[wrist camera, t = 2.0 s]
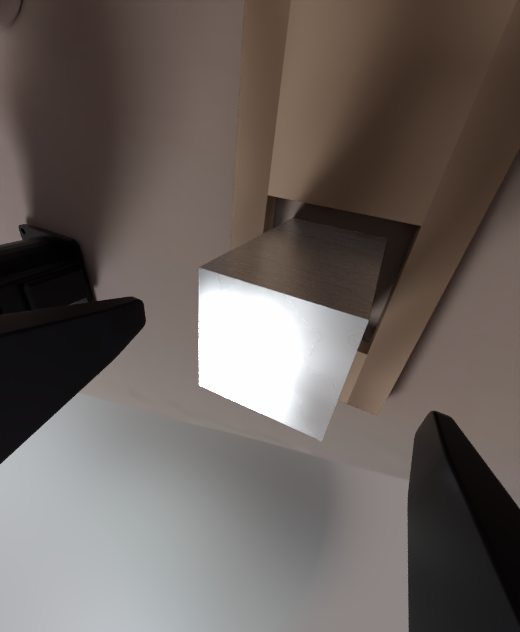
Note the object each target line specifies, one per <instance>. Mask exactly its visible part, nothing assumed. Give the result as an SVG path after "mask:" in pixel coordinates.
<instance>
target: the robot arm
mask: <svg viewBox="0 0 520 632" xmlns="http://www.w3.org/2000/svg"><path fill="white" fill-rule="evenodd" d="M19 231H20V234H21V237H22V239H23V240H21V241H16V242H11V243H7V244H2V245H0V464H1V463H2V462H3V461H4V460H5V459H6V458H8V456H9V455H11V454H12V453H13V452H14V451H15V450H16V449H17V448H18V447H19V446H21V445H22V444H23V443H24V442H25V441H26V440H27V439H28V438H29V437H30V436H31V435H32V434H34V433H35V432H36V431H37V430H38V429H39V428H40V427H41V426H42V425H43V424H44V423H46V422H47V421H48V420H49V419H50V418H51V417H52V416H53V415H54V414H55V413H56V412H58V411H59V410H60V409H61V408H62V407H63V406H64V405H65V404H66V403H67V402H68V401H70V399H72V398H73V397H74V396H75V395H76V394H77V393H78V392H79V391H80V390H82V389H83V388H84V387H85V386H86V385H87V384H88V383H89V382H90V381H91V380H92V379H93V378H95V377H96V376H97V375H98V374H99V373H100V372H101V371H102V370H103V369H104V368H105V367H107V366H108V365H109V364H110V363H111V362H112V361H113V360H114V359H115V358H116V357H117V356H118V355H119V354H120V353H121V351H122V350H123V349H124V348H125V347H126V346H127V345H128V344H129V343H130V341H131V340H132V339H133V338H134V337H135V336H136V335H137V334H138V333H139V332H140V330H141V329H142V328H143V327H144V325H145V322H146V318H145V310H144V304H143V302H142V301H141V300H140V299H137V298H135V297H123V298H116V299H109V300H102V301H95V302H92V297H91V293H90V289H89V285H88V281H87V277H86V273H85V269H84V265H83V261H82V257H81V252H80V248H79V245H78V243H77V242H76V241H75V240H73V239H71V238H67V237H64V236H61V235H58V234H55V233H52V232H49V231H46V230H43V229H40V228H37V227H34V226H31V225H28V224H22V225H19ZM408 601H409V602H408V604H409V605H408V606H409V632H520V508H519V507H518V506H517V504H516V503H515V502H514V500H513V499H512V498H511V496H510V495H509V494H508V492H507V491H506V490H505V488H504V487H503V486H502V484H501V483H500V482H499V480H498V479H497V478H496V476H495V475H494V473H493V472H492V471H491V469H490V468H489V467H488V465H487V464H486V463H485V461H484V460H483V459H482V457H481V456H480V455H479V453H478V452H477V451H476V449H475V448H474V447H473V445H472V444H471V443H470V441H469V440H468V439H467V437H466V436H465V435H464V433H463V432H462V431H461V429H460V428H459V427H458V425H457V424H456V422H455V421H454V420H453V419H452V418H451V417H450V416H448V415H445V414H442V413H440V412H437V411H431V412H430V413H429V414H428V415H427V416H426V418H425V419H424V421H423V422H422V424H421V425H420V427H419V428H418V430H417V432H416V434H415V438H414V446H413V455H412V463H411V472H410V481H409V490H408Z"/></svg>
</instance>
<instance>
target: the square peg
mask: <svg viewBox="0 0 520 632" xmlns="http://www.w3.org/2000/svg"><path fill="white" fill-rule="evenodd" d="M386 241H387V238H383V237H379V236H374V235H370V234H365V233H361V232H356V231H352V230H347V229H343V228H338V227H333V226H329V225H324V224H320V223H315V222H311V221H306V220H302V219H297V218H292V219H290V220H288V221H286V222H284V223H282V224H280V225H278V226H276V227H275V228H273V229H271V230H269V231H267V232H265V233H263V234H261V235H259V236H257V237H256V238H254V239H252V240H250V241H248V242H246V243H244V244H242V245H240V246H239V247H237V248H235V249H233V250H231V251H229V252H227V253H225V254H223V255H221V256H220V257H218V258H216V259H214V260H212V261H210V262H208V263H206V264H204V265H203V266H201V267H199V385H200V386H203V387H205V388H207V389H209V390H211V391H213V392H216V393H218V394H220V395H222V396H224V397H227V398H229V399H231V400H233V401H235V402H237V403H240V404H242V405H244V406H246V407H248V408H251V409H253V410H255V411H257V412H259V413H261V414H264V415H266V416H268V417H270V418H272V419H275V420H277V421H279V422H281V423H283V424H285V425H288V426H290V427H292V428H294V429H296V430H299V431H301V432H303V433H305V434H307V435H309V436H312V437H314V438H316V439H318V440H320V441H322V439H323V436H324V434H325V431H326V429H327V426H328V424H329V421H330V419H331V416H332V413H333V411H334V408H335V406H336V403H337V401H338V398H339V395H340V393H341V390H342V388H343V385H344V383H345V380H346V378H347V375H348V372H349V370H350V367H351V365H352V362H353V360H354V357H355V355H356V352H357V349H358V347H359V344H360V342H361V339H362V337H363V334H364V332H365V329H366V326H367V324H368V321H369V318H370V313H371V309H372V304H373V300H374V295H375V290H376V286H377V281H378V277H379V272H380V268H381V263H382V259H383V254H384V250H385V245H386Z"/></svg>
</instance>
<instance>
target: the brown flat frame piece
mask: <svg viewBox="0 0 520 632" xmlns="http://www.w3.org/2000/svg"><path fill="white" fill-rule="evenodd" d="M519 149H520V0H245V4H244V21H243V38H242V56H241V73H240V90H239V108H238V125H237V142H236V160H235V177H234V194H233V212H232V229H231V246H230V251H231V250H233V249H235V248H237V247H239V246H240V245H242V244H244V243H246V242H248V241H250V240H252V239H254V238H256V237H257V236H259V235H261V234H263V233H265V232H267V231H269V230H271V229H272V227H273V220H274V213H275V205H276V198H277V197H279V198H284V199H289V200H294V201H299V202H304V203H309V204H314V205H319V206H324V207H329V208H334V209H339V210H344V211H349V212H354V213H359V214H364V215H369V216H374V217H379V218H384V219H389V220H394V221H399V222H404V223H409V224H414V225H418V227H417V230H416V232H415V234H414V237H413V239H412V242H411V244H410V247H409V249H408V251H407V254H406V256H405V259H404V261H403V263H402V266H401V268H400V271H399V273H398V275H397V278H396V280H395V283H394V285H393V288H392V290H391V292H390V295H389V297H388V300H387V302H386V304H385V307H384V309H383V312H382V314H381V316H380V319H379V321H378V324H377V326H376V329H375V331H374V333H373V336H372V338H371V341H370V342H367V341H364V340H361V342H360V344H359V347H358V349H357V352H356V355H355V357H354V360H353V362H352V365H351V367H350V370H349V372H348V375H347V378H346V380H345V383H344V385H343V388H342V390H341V393H340V395H339V398H338V400H339V401H341V402H344V403H346V404H349V405H351V406H354V407H356V408H359V409H361V410H364V411H366V412H368V413H371V414H373V415H376V416H378V415H379V413H380V411H381V409H382V407H383V405H384V403H385V401H386V400H387V398H388V396H389V394H390V392H391V390H392V388H393V386H394V384H395V383H396V381H397V379H398V377H399V375H400V373H401V371H402V369H403V368H404V366H405V364H406V362H407V360H408V358H409V356H410V354H411V352H412V351H413V349H414V347H415V345H416V343H417V341H418V339H419V337H420V335H421V334H422V332H423V330H424V328H425V326H426V324H427V322H428V320H429V319H430V317H431V315H432V313H433V311H434V309H435V307H436V305H437V303H438V302H439V300H440V298H441V296H442V294H443V292H444V290H445V288H446V286H447V285H448V283H449V281H450V279H451V277H452V275H453V273H454V271H455V270H456V268H457V266H458V264H459V262H460V260H461V258H462V256H463V254H464V253H465V251H466V249H467V247H468V245H469V243H470V241H471V239H472V237H473V236H474V234H475V232H476V230H477V228H478V226H479V224H480V222H481V221H482V219H483V217H484V215H485V213H486V211H487V209H488V207H489V205H490V204H491V202H492V200H493V198H494V196H495V194H496V192H497V190H498V188H499V187H500V185H501V183H502V181H503V179H504V177H505V175H506V173H507V172H508V170H509V168H510V166H511V164H512V162H513V160H514V158H515V156H516V155H517V153H518V151H519Z"/></svg>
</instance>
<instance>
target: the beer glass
mask: <svg viewBox="0 0 520 632" xmlns="http://www.w3.org/2000/svg"><path fill="white" fill-rule="evenodd" d="M21 1H22V0H0V27H4V26H7V25H9V24H10V23H12V22H13V20H14V19H15V18H16V16H17V14H18V12H19V9H20V5H21Z"/></svg>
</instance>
